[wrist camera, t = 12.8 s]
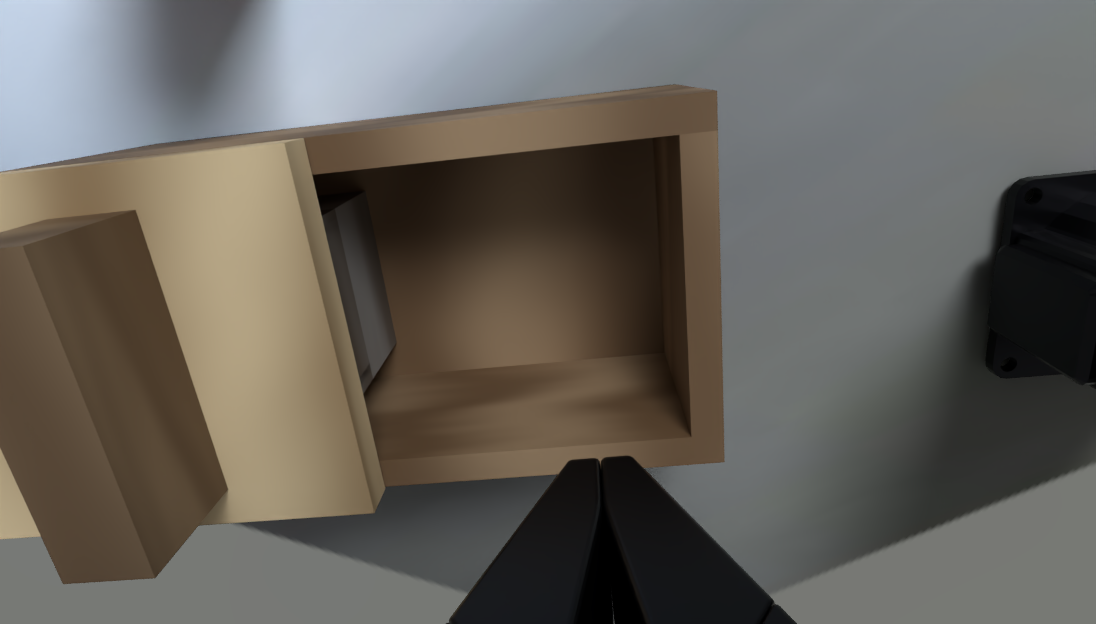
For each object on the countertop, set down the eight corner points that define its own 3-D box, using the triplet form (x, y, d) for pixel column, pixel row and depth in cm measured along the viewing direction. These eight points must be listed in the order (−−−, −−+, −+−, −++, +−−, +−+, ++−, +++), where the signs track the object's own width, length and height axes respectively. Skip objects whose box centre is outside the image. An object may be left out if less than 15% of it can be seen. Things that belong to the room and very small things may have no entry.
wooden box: (674, 84, 19) (716, 90, 13) (686, 362, 22) (724, 462, 17) (156, 144, 20) (-4, 172, 15) (235, 400, 23) (128, 505, 18)
